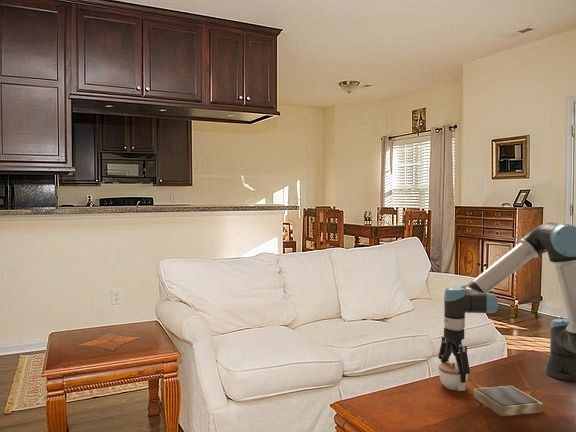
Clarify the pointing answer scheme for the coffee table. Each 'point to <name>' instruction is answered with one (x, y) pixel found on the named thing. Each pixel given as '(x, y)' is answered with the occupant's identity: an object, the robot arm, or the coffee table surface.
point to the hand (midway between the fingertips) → (453, 384)
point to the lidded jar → (449, 375)
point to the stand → (507, 400)
